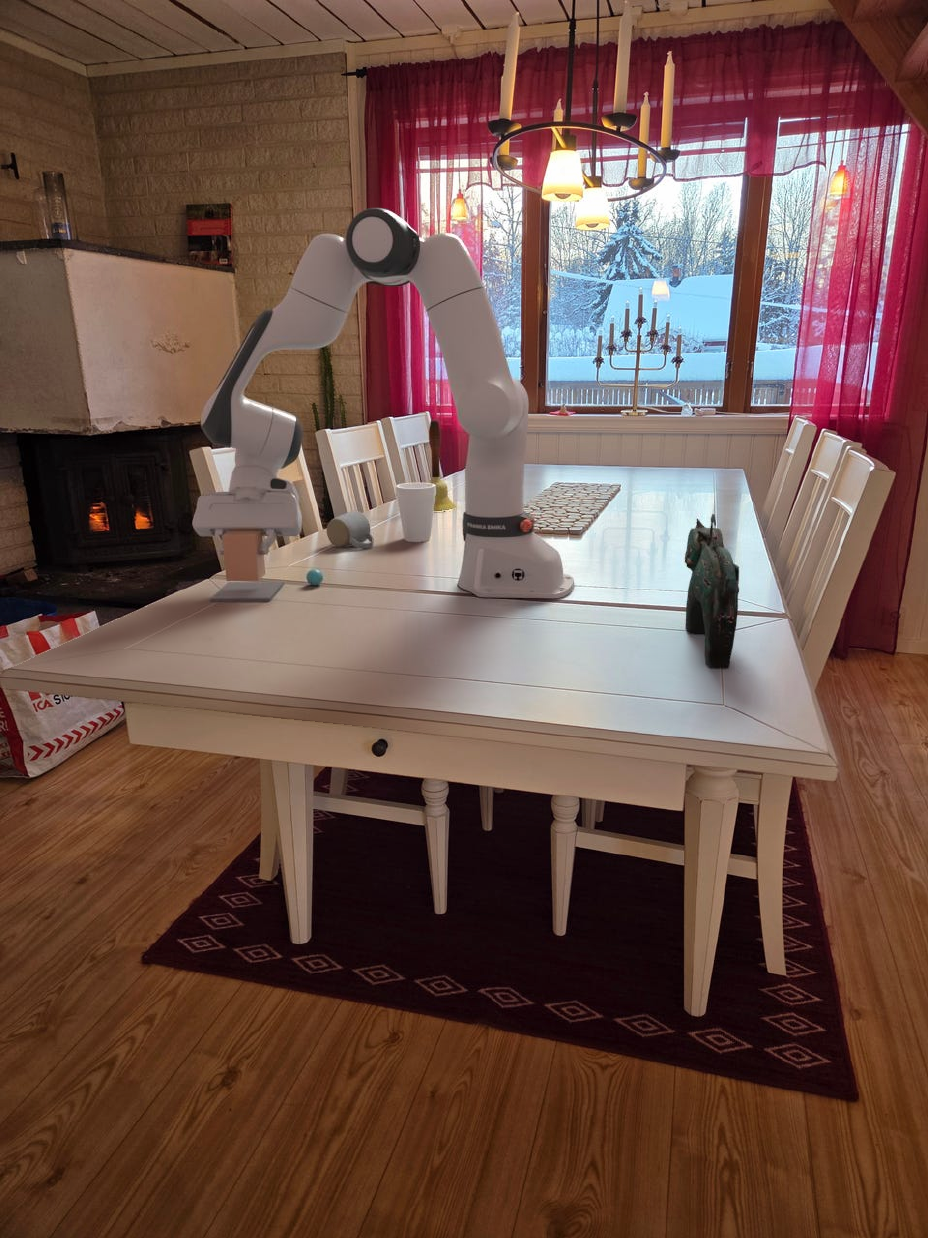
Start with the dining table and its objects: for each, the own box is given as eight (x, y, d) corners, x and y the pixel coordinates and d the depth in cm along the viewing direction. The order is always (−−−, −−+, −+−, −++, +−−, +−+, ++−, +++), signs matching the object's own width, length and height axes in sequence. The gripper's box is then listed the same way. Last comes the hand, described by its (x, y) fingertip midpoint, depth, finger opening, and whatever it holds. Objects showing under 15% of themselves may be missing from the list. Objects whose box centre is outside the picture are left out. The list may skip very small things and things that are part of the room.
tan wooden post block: (265, 573, 153) (261, 529, 150) (258, 581, 148) (254, 535, 145) (234, 573, 153) (230, 529, 150) (226, 581, 148) (221, 535, 145)
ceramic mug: (324, 546, 187) (323, 514, 184) (347, 539, 193) (345, 508, 191) (360, 552, 181) (358, 519, 179) (382, 545, 188) (380, 513, 186)
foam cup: (431, 544, 188) (429, 489, 184) (393, 542, 190) (391, 488, 186) (440, 535, 197) (439, 482, 193) (404, 534, 198) (402, 482, 194)
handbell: (464, 506, 234) (463, 418, 226) (446, 513, 223) (444, 422, 215) (427, 503, 239) (424, 418, 231) (407, 510, 228) (404, 421, 220)
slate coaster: (284, 584, 156) (283, 581, 156) (269, 601, 146) (269, 598, 146) (228, 585, 157) (228, 582, 156) (210, 601, 146) (210, 598, 146)
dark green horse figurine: (676, 624, 131) (686, 504, 125) (717, 625, 130) (728, 504, 124) (698, 670, 112) (710, 531, 106) (745, 671, 112) (760, 531, 105)
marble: (326, 583, 157) (325, 567, 156) (319, 587, 154) (317, 571, 153) (311, 582, 158) (310, 566, 157) (304, 586, 155) (302, 570, 154)
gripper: (194, 482, 152) (182, 544, 146) (300, 482, 151) (292, 544, 145) (204, 501, 157) (193, 561, 151) (307, 501, 157) (300, 561, 151)
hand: (242, 553), depth 148 cm, fingers closed on tan wooden post block, 6 cm apart
